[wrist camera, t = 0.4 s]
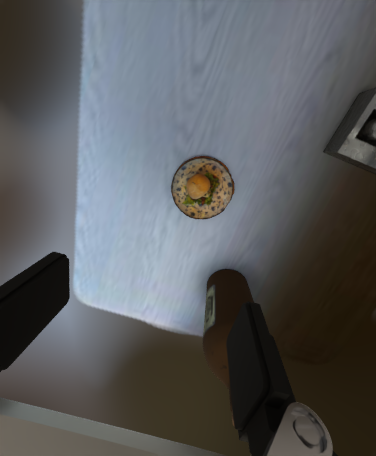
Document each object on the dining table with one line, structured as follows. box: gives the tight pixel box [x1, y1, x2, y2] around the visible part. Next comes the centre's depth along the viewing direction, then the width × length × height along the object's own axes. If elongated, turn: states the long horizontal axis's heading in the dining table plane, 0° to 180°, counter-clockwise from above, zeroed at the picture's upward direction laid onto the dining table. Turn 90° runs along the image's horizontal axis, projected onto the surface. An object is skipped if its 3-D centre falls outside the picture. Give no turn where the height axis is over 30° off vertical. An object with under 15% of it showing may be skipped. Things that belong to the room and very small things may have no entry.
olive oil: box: [203, 269, 254, 425], centre depth 34 cm, size 11×11×25 cm
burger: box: [171, 156, 234, 219], centre depth 34 cm, size 12×12×8 cm
